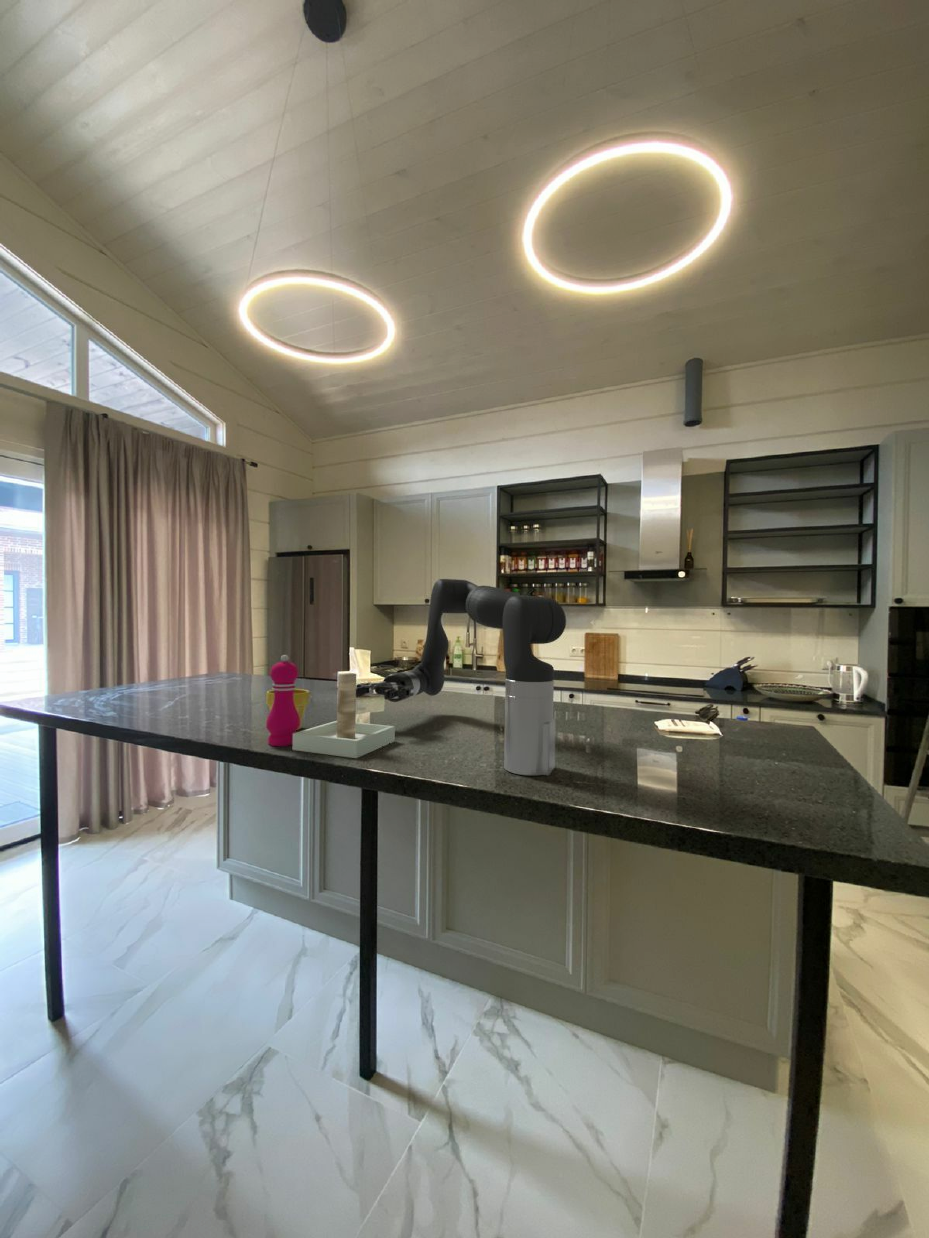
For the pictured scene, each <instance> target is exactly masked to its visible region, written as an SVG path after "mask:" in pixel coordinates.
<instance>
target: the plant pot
mask: <svg viewBox="0 0 929 1238" xmlns="http://www.w3.org/2000/svg"><path fill="white" fill-rule="evenodd" d="M265 696H266V699H265V700H266V701H265V703H266V706H268V710H269V712H270V711H271V709H272V706H273V703H274V690H273V689H270V690H268V691H266V695H265ZM293 700H294V705H295V708H296V710H297V712H298V714H299V718H300V726H299V728H298V729H299V730H301V728H302V723H303V720H304V715H305V712H306V711H305V710H306V709H307V705H309V701H310V691H309V690H308V689H303V688H296V689H295V690H294V693H293ZM298 729H297V731H299V730H298Z"/></svg>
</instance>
